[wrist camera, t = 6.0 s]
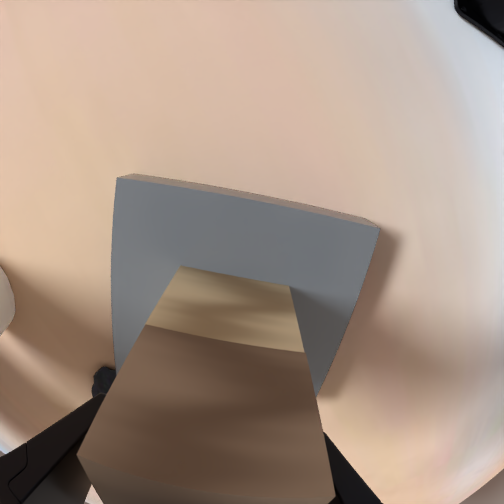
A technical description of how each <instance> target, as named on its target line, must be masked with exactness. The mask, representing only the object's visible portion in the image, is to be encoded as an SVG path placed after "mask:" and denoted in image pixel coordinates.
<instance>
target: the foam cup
mask: <svg viewBox="0 0 504 504" xmlns="http://www.w3.org/2000/svg"><path fill="white" fill-rule="evenodd" d="M15 311H16V310H15V300H14V294H13V291H12V289H11V286H10V283H9V280H8V278H7V276H6V274H5V273H4V271H3V270H2V268H1V266H0V336H1V335H2V334H3V332H4V331H5V330H6V328H7V327H8V326H9V323H10V322H12V320H13V317H14V314H15Z"/></svg>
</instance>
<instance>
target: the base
mask: <svg viewBox="0 0 504 504" xmlns="http://www.w3.org/2000/svg"><path fill="white" fill-rule="evenodd" d="M379 232H380V228H379V227H377V226H376V225H374V224H373V223H371V222H370V221H368V220H367V219H365V218H361V217H357V216H353V215H349V214H345V213H340V212H336V211H332V210H328V209H323V208H319V207H315V206H310V205H306V204H301V203H297V202H292V201H287V200H283V199H278V198H273V197H268V196H263V195H258V194H253V193H248V192H243V191H237V190H232V189H227V188H221V187H216V186H210V185H204V184H198V183H192V182H186V181H180V180H173V179H167V178H160V177H154V176H147V175H139V174H130V175H125V176H121V177H117V180H116V190H115V201H114V213H113V228H112V252H111V306H112V329H113V344H114V356H115V367H116V376H117V374H118V372H119V370H120V369H121V367H122V365H123V363H124V361H125V360H126V358H127V356H128V354H129V352H130V351H131V349H132V347H133V345H134V343H135V342H136V340H137V338H138V336H139V335H140V333H141V331H142V329H143V328H144V326H145V323H146V322H147V320H148V318H149V316H150V315H151V313H152V311H153V310H154V308H155V306H156V305H157V303H158V301H159V300H160V298H161V296H162V295H163V293H164V291H165V290H166V288H167V286H168V285H169V283H170V282H171V280H172V278H173V277H174V275H175V273H176V272H177V270H178V269H179V267H180V265H181V266H186V267H191V268H196V269H201V270H206V271H211V272H216V273H222V274H227V275H232V276H237V277H243V278H248V279H254V280H259V281H265V282H270V283H276V284H281V285H287V286H289V288H290V292H291V296H292V300H293V305H294V309H295V313H296V317H297V322H298V326H299V330H300V335H301V339H302V343H303V348H304V352H305V353H306V356H307V360H308V364H309V369H310V373H311V378H312V382H313V387H314V391H315V396H317V394H318V392H319V390H320V388H321V386H322V384H323V382H324V379H325V377H326V375H327V373H328V371H329V368H330V366H331V364H332V362H333V359H334V357H335V355H336V352H337V350H338V348H339V345H340V343H341V340H342V338H343V335H344V333H345V330H346V328H347V325H348V323H349V320H350V318H351V315H352V312H353V310H354V307H355V304H356V302H357V299H358V296H359V294H360V291H361V288H362V285H363V282H364V279H365V276H366V273H367V270H368V267H369V264H370V261H371V258H372V255H373V252H374V249H375V245H376V242H377V239H378V235H379Z"/></svg>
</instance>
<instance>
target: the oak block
mask: <svg viewBox="0 0 504 504" xmlns="http://www.w3.org/2000/svg"><path fill="white" fill-rule="evenodd" d="M145 324H147V325H151V326H156V327H160V328H164V329H169V330H173V331H178V332H183V333H187V334H192V335H197V336H202V337H207V338H212V339H218V340H223V341H229V342H235V343H241V344H247V345H253V346H259V347H266V348H273V349H280V350H288V351H296V352H304V348H303V343H302V339H301V335H300V330H299V326H298V322H297V317H296V313H295V309H294V305H293V300H292V296H291V292H290V288H289V286H287V285H281V284H276V283H270V282H265V281H259V280H254V279H248V278H243V277H237V276H232V275H227V274H222V273H216V272H211V271H206V270H201V269H196V268H191V267H186V266H181V265H180V267H179V269H178V270H177V272H176V273H175V275H174V277H173V278H172V280H171V282H170V283H169V285H168V286H167V288H166V290H165V291H164V293H163V295H162V296H161V298H160V300H159V301H158V303H157V305H156V306H155V308H154V310H153V311H152V313H151V315H150V316H149V318H148V320H147V322H146V323H145ZM304 353H305V352H304Z"/></svg>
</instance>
